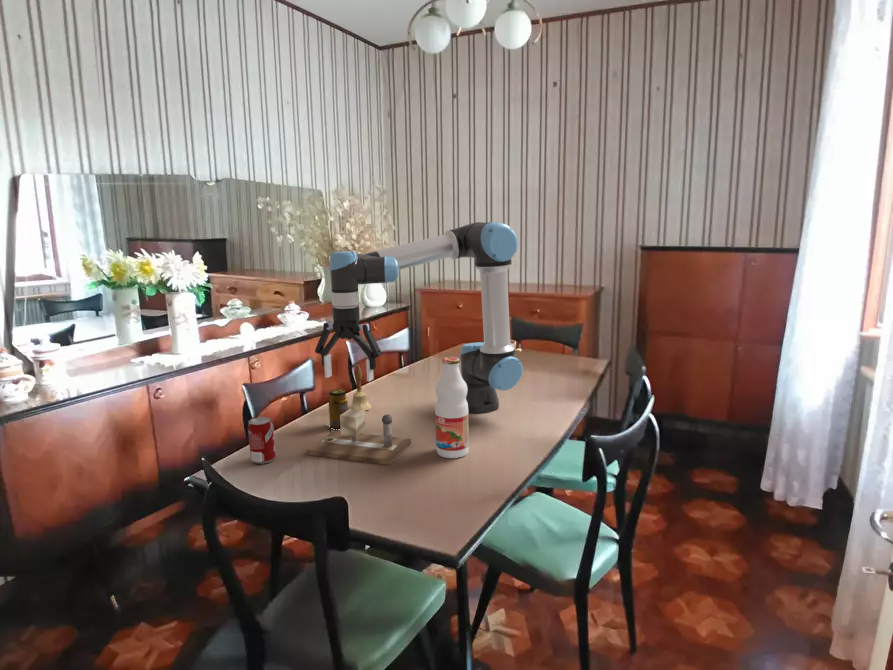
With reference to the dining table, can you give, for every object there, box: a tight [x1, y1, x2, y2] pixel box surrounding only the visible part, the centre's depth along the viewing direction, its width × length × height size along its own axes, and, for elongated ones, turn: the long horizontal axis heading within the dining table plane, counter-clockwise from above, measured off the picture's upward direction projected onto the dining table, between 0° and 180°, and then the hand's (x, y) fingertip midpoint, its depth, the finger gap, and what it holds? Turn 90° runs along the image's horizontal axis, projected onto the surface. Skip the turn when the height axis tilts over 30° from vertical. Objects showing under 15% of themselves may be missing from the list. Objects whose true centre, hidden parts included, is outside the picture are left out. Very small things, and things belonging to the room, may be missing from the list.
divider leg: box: [340, 408, 367, 442], centre depth 173 cm, size 5×6×9 cm
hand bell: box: [348, 364, 373, 412], centre depth 209 cm, size 8×8×16 cm
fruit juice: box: [434, 356, 470, 459], centre depth 167 cm, size 9×9×28 cm
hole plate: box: [306, 414, 412, 466], centre depth 173 cm, size 26×16×12 cm, turn 72°
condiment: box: [325, 388, 349, 433], centre depth 191 cm, size 7×8×12 cm
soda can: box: [247, 416, 277, 465], centre depth 166 cm, size 7×7×12 cm
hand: (349, 378), depth 172 cm, fingers open, 13 cm apart
